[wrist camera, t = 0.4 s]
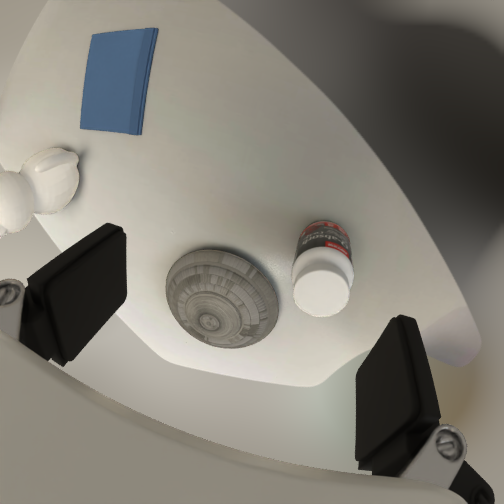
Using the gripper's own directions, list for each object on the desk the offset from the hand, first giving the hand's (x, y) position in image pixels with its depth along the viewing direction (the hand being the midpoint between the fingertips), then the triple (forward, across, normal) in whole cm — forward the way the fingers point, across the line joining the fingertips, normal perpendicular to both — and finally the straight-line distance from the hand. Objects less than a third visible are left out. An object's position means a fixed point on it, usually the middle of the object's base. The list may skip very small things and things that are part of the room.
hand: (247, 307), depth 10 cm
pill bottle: (+23, -5, +7) cm, 24 cm away
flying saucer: (+23, +5, +18) cm, 30 cm away
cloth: (+23, +24, -6) cm, 33 cm away
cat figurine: (+23, +31, +7) cm, 39 cm away
